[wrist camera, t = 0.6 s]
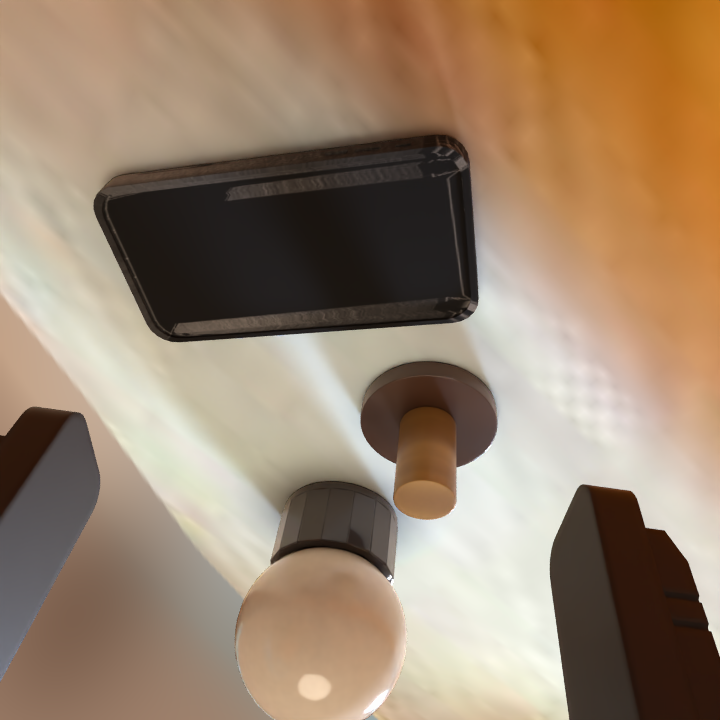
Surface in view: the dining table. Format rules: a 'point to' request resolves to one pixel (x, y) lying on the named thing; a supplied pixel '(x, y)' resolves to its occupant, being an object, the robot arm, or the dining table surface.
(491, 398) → the knob on round base
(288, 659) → the ball
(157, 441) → the dining table surface
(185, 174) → the phone
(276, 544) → the stand
